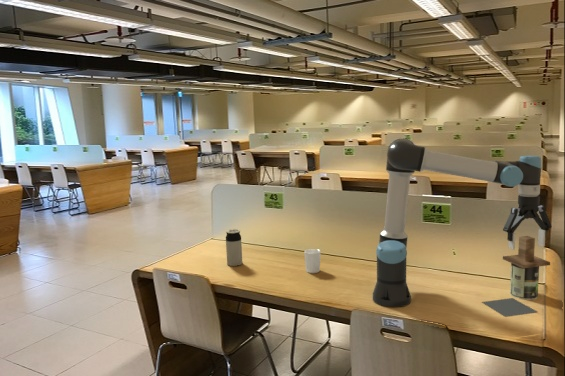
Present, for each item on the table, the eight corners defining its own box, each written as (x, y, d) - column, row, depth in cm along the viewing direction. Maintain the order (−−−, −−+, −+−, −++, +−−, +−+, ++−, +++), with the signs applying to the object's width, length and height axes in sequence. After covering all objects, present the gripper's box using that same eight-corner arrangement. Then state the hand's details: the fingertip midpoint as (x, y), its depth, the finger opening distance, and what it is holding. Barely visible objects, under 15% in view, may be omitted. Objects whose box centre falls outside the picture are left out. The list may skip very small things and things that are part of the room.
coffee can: (538, 293, 190) (540, 260, 188) (537, 302, 181) (538, 267, 179) (511, 289, 195) (512, 257, 193) (508, 297, 187) (509, 264, 185)
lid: (523, 268, 179) (524, 242, 178) (502, 259, 191) (503, 235, 189) (550, 265, 182) (551, 239, 180) (528, 256, 193) (529, 232, 192)
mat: (505, 317, 169) (505, 316, 169) (481, 303, 183) (481, 302, 183) (538, 313, 172) (538, 312, 172) (512, 298, 185) (512, 298, 185)
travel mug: (245, 262, 244) (243, 229, 241) (236, 267, 237) (234, 233, 234) (233, 260, 248) (231, 228, 245) (224, 265, 241) (222, 231, 239)
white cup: (302, 272, 225) (302, 253, 224) (307, 267, 232) (307, 248, 231) (318, 274, 222) (317, 254, 221) (323, 269, 229) (322, 249, 228)
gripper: (507, 198, 176) (505, 252, 179) (563, 194, 181) (560, 246, 184) (494, 195, 183) (492, 247, 187) (549, 191, 188) (546, 241, 192)
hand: (526, 247), depth 186 cm, fingers open, 13 cm apart
